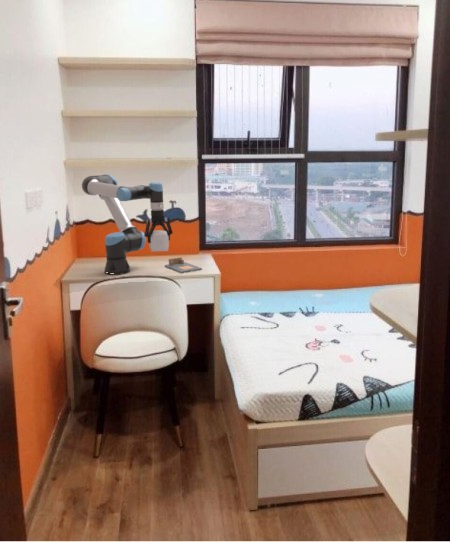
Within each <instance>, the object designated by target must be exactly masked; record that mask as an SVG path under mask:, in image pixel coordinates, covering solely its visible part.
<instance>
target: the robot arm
mask: <svg viewBox="0 0 450 542" xmlns="http://www.w3.org/2000/svg"><path fill="white" fill-rule="evenodd" d="M163 187H164V186H163V183H162V182H159V181H157V182H155V181H154V182H150V183H149V184H148V185H142V184H141V185H137V186H136V185H135V186H123V185H119V183H118V181H117V179H116V178H115V176H113V175H111V174H99V175H89V176H86V177H85V178H84V179H83V180H82V182H81V188H82V191H83V192H84V193H85V194H86V195H90V196H96V195H98V196H99V198H100V200H103V201H104V203H105V204H106V207H107V208H108V210H109V212H110V214H111V216H112V218H113V220H114V222H115V225H116V226H117V228H118V231H116V232H111V233H109V234H107V235H105V237H104V245H105V255H106V261H105V265H104V273H105V272H108V273H114V274H117V275H122V274H121V273H124V274H128V273H130V272H131V268H130V267H131V266H130V264H129V262H128V260H127V253H132V252H138V251H140V250H143V249H144V247H145V246H146V241H147V243H148V244H149V249H150V250H151V249H153V244H152V237H151V235H152V233H153V231H155V229H156V227H158V226H161V229H163V231H167V235H168V247H170V241H171V235H172V234H174V233H173V229H172V226H171V223H170V217H165V210H164V189H163ZM144 199H146V200H147V199H149V200H150V201H149V203H150V217H151V218H150V219H146V221H145V222H146V224H145V230H144V231H142V230H138V228H137V226H135V225H133V224H132V221H131V220H130V218H129V215H128V213H127V212H126V210H125V208H124V206H123V204H122V202H127V201H128V202H129V201H135V200H144ZM151 223H152V224H151ZM129 271H130V272H129ZM127 272H128V273H127Z"/></svg>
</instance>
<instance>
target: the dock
mask: <svg viewBox="0 0 450 542" xmlns="http://www.w3.org/2000/svg"><path fill="white" fill-rule="evenodd" d="M164 267H165V268H168V269H169V270H173V271H175V272H177V273H179V272H180V274H185V273H184V272H186V273H192V272H197V270H198V271H202V270H203V268H202V267H200V266H198V265H194V264H191V263H188V262H186V261H185V259H183V257H182V256H180V257H175V258H168V264H165V265H164ZM191 271H192V272H191Z"/></svg>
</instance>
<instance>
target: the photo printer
mask: <svg viewBox="0 0 450 542" xmlns="http://www.w3.org/2000/svg"><path fill="white" fill-rule="evenodd" d="M151 237H152V244H153V249H151V248H150V252H151V253H152V252H153V253H154V252H168V251H169V246H168V235H167V231H164V229H163V230H162V229H157V230H156V229H155V230H154V231H153V233H152V235H151Z"/></svg>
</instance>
